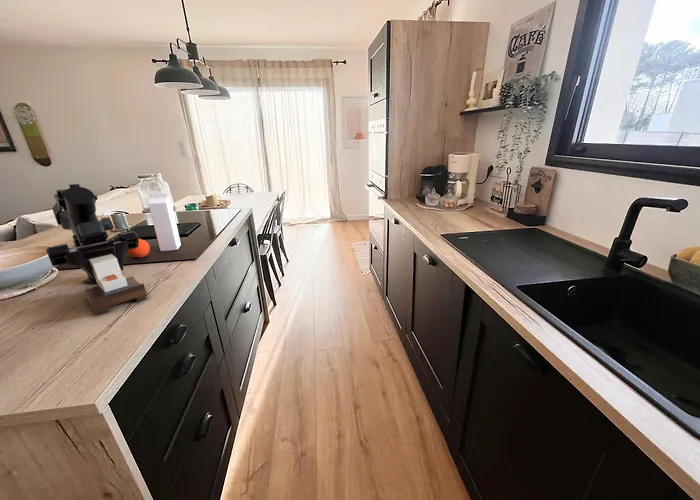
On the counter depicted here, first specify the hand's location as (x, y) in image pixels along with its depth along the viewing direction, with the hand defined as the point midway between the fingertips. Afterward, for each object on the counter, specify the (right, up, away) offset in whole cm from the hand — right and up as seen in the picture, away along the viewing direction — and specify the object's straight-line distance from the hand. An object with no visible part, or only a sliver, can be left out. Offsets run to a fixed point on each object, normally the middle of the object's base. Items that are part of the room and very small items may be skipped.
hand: (108, 273), depth 76 cm
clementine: (-13, +4, +31) cm, 34 cm away
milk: (-8, +7, +39) cm, 40 cm away
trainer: (0, -4, +1) cm, 4 cm away
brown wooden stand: (+1, -7, +1) cm, 7 cm away
